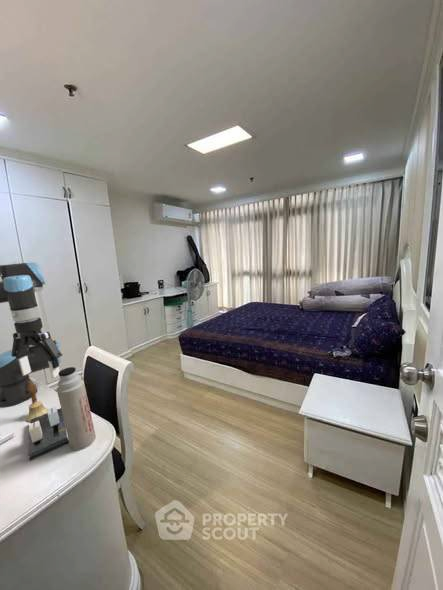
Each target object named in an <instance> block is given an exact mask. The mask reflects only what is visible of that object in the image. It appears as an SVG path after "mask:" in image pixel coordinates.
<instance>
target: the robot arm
mask: <svg viewBox="0 0 443 590" xmlns="http://www.w3.org/2000/svg"><path fill="white" fill-rule="evenodd" d="M43 285H46V281H45V278H44V276H43V272H42V270H41V268H40V266H39V264H38V263H36V262H22V263H21V262H20V263H12V264H11V263H9V264H0V304H4V303H8V304H9V305H8V306H9V309H10V312H11V313H10V314H11V317H12V320H13V322H14V323H13V325H14V329H15V332H14V333H12V338H13V342H12V349H10V350H7V351H4V352H2V353H0V407H2V408H7V407H13V406H15V405H19V404H22V403H24V402H25V401H28V400H29V399H32V398H31V395H30V394H29V392H28V382H29V381H32V382H33V380H32V379H31V378H30V374H33V373H37V372H39V371H43V370H46V369H49V371H50V374H51V377H52V378H53V379H54V378H56V377H57V376H59V374H58V373H59V372H60V371H61V370H60V363H61V360H62V359H61V357H62V356H63V354H62V352H61V348H60V347H61V346H60V345H61V344H60V342H58V341H57V340H56V339H55V338H53V337H52V335H51V332H50V328H49V323H48V320H47V314H46V311H45V307H44V306H45V305H44V302H43V298H42V293H41V291H42V290H43V289H44V286H43ZM52 378H51V379H52ZM34 385H35V387H36V393H35V394H36V395H37V394H38V387H37V385H36V384H35V383H34Z"/></svg>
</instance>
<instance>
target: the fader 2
mask: <svg viewBox="0 0 443 590" xmlns="http://www.w3.org/2000/svg"><path fill="white" fill-rule="evenodd" d="M47 409H48V418H49V421H50V425H51V426H53V425H54V426H57V424H58V423H59V416H58V412H57V409H58V408H57V406H55V407H51V408H47Z"/></svg>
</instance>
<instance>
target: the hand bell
mask: <svg viewBox="0 0 443 590" xmlns="http://www.w3.org/2000/svg"><path fill="white" fill-rule="evenodd" d="M34 384H35V383H34V381H33V380H32V381H29V382H28V392H29V394H30V395H31V398H30V399H31V404H30V405H28V410H29V411H28V414H27V416H26V417H25V422H27V423H30V420H31V419H34V418H36V417H39V416H42V415H44V414H47V413H48V409H49V408H47V407H45V406H44V404H43V402H42V401H40V400H39V401H38V399H37V393H36V387H37V386H36V387H35V385H36V384H35V385H34ZM35 393H36V394H35Z"/></svg>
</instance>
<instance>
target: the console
mask: <svg viewBox="0 0 443 590" xmlns="http://www.w3.org/2000/svg"><path fill="white" fill-rule="evenodd" d="M57 412H58V416H59V423H58V424H57V426H54V425H53V426H51V425H50V421H49V418H48V413H47V414H44V415H42V416H39V417H36V418H34V419H31V420H30V422H29V424H31V423H34V422H36V421H39V422H40V426H41V430H42V439H40V441H39V442H36V441H35V442H33V443H32V439H31V436H30V432H29V435H28V436H29V437H28V450H27V451H28V452H27V455H28V459H29V461H33V460H34V459H36V458H39V457H41V456H43V455H45V454H48V453H50V452H52V451H54V450H56V449H58V448H60V447H62V446H65V445H67V444H69V438H68V434H67V430H66V426H65V422H64V418H63V414H62V409H61V407H60V408H57Z"/></svg>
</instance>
